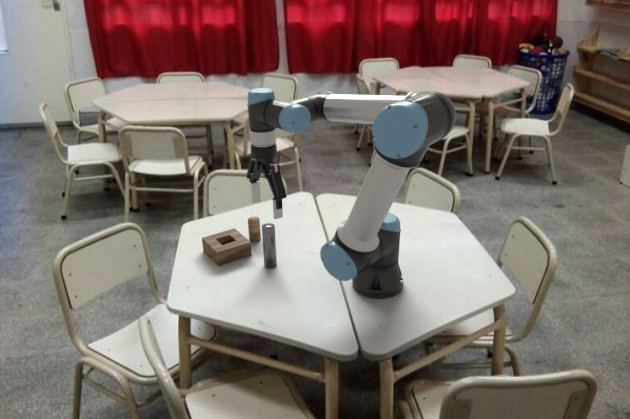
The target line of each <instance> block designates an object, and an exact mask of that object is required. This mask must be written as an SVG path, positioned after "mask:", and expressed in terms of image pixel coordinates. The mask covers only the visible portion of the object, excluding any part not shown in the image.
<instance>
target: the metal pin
mask: <svg viewBox="0 0 630 419" xmlns="http://www.w3.org/2000/svg"><path fill="white" fill-rule="evenodd" d="M275 226H276V225H275V224H274V223H271V222H270V223H269V222H268V223H267V222H266V223H264V224H262V225H261V239H262V249H263V266H264V268H265V269H274V268H276V267H277V263H278V262H277V243H276V242H277V241H276V227H275Z"/></svg>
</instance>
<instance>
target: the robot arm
mask: <svg viewBox="0 0 630 419" xmlns="http://www.w3.org/2000/svg"><path fill="white" fill-rule="evenodd" d="M247 110H248V113H247V114H248V115H247V116H248V125H249V129H248V130H249V133H248V134H249V142H250V153H249V163H248V166H247V172H246V179H248V180H249V183H250V191H251V203H252V204H255V203H259V202H260V203H261V202H262V200H261V186H260V185H261V183H260V178H261V175H263V177H264V178H265V179H266V180H267V183H268V184H269V185H268V186H269V188H270V191H271V192H272V193H271V194H272V196H273V198H272V211H273V213H272V214H273V215H272V216H273V220H277V219H281V218H284V217H283V216H284V215H283V214H284V213H283V212H284V211H283V200H284V199H286V198H287V192H286V188H285V184H284V181H283V178H282V177H283V176H282V173H281V166H280V164H275V163H274V158H276V157H277V155H278V149H277V148H278V147H277V129H279V130H282V131H286V132H288V133H292V134H293V133H294V134H301V133H304V132H305V131H306V129H308V128H309V127H310V124H314V123H316V122H322V121H324V122H336V123H337V122H338V123H339V122H340V123H351V124H365V125H366V124H368V125H372V127H371V135H372V136H373V139H372V141H373V150H374V152H375V155H374V159H373V161H372V162H371V165H370V167H369V170H368V172H367V174H366V177H365V179H364V181H363V184H362V186H361V188H360V190H359V192H358V195H357V197H356V199H355V201H354V204H353V206H352V208H351V210H350V213H349V215H348V217H347V219H345V220H343V221H342V222H340V223H339V225H338V226H337V228H336V231H335V232H334V235H333V237H332V239H330V240H328V241H326V242H325V243H324V244H323V245H322V247H321V249H320V253H319V255H320V261H321V262H322V265H323V267H324V269H325V270H326V272H327V273H328V274H329V275H330V276H331V277H332V278H334V279H335V280H338V281H341V282H349V281H350V280H352V282H351V284H352V288H353V289H354V291H355V292H357V293H358V294H360V295H362V296H365V297H367V298H372V299H388V298H392V297H394V296H397V295H398V294H400V293H401V292H402V290H403V288H404V277H403V273H402V270H401V267H400V263H399V257H400V244H401V243H400V242H401V231H402V229H401V220H400V218H399V217H398V216H397V215H395V214H393V213H391V212H389V211H390V209H391V207H392V206H393V203H394V202H395V199H396V197H397V195H398V193H399V191H400V189H401V187H402V185H403V184H404V181H405V179H406V178H407V175H408V173H409V172H410V170H411V169H416V168H417V167H418V166H420V164H421V162H422V160H423V158H424V156H425V154H426V152H427V151H428V149H429V147H430V146H431V145H433V144H435V143H436V142H439V141H441V140H443V139H445V138H446V137H447V136H448V135H449V134H450V133H451V132H452V131H453V129H454V127H455V124H456V121H457V111H456V108H455V105H454V103H453V101H452V99H450V98H449V96H447V95H446V94H444V93H442V92H439V91H434V90H430V91H429V90H428V91H410V92H408V93H407V94H406V95H392V94H391V95H387V94H385V95H384V94H382V95H381V94H348V93H347V94H346V93H341V94H340V93H334V92H332V91H329V90H326V91H320V92H319V91H318V92H317V93H313V94H311V95H307V96H304V97H299V98H295V99H292V100H289V101H284V100H281V99H276V95H275V91H274V90H273V89H271V88H270V87H269V88H268V87H257V88H252V89H250V90H249V91H248V92H247Z"/></svg>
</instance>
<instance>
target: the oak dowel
mask: <svg viewBox="0 0 630 419" xmlns="http://www.w3.org/2000/svg"><path fill="white" fill-rule="evenodd" d="M247 226H248V240H249V241H250V242H251V243H253V244H255V243H259V242H260V241H261V240H262V233H261V223H260V217H258V216H249V218H247Z"/></svg>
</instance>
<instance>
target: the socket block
mask: <svg viewBox="0 0 630 419" xmlns="http://www.w3.org/2000/svg"><path fill="white" fill-rule="evenodd" d="M201 242H202V251H203V252H204V253H205V254H206V256H208V257H209V258H210V259H211V260H212V262H213V263H215V264H216V266H218V267H220V266H223V265H227V264H230V263H233V262H235V261H238V260H239V261H240V260H241V259H246V258H248V257H251V256H252V252H253V251H252V242H250V241H249V238H247V237H245V236H244V235H243V234H242V233H241V232H240V231H238V230H237V229H236V228H231V229H228V230H224V231H221V232H218V233H214V234H209V235H207V236H204V237H201Z"/></svg>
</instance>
